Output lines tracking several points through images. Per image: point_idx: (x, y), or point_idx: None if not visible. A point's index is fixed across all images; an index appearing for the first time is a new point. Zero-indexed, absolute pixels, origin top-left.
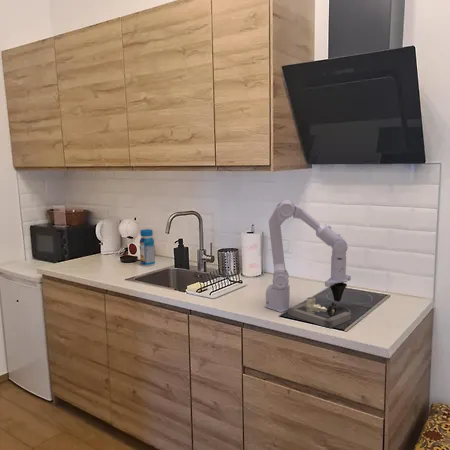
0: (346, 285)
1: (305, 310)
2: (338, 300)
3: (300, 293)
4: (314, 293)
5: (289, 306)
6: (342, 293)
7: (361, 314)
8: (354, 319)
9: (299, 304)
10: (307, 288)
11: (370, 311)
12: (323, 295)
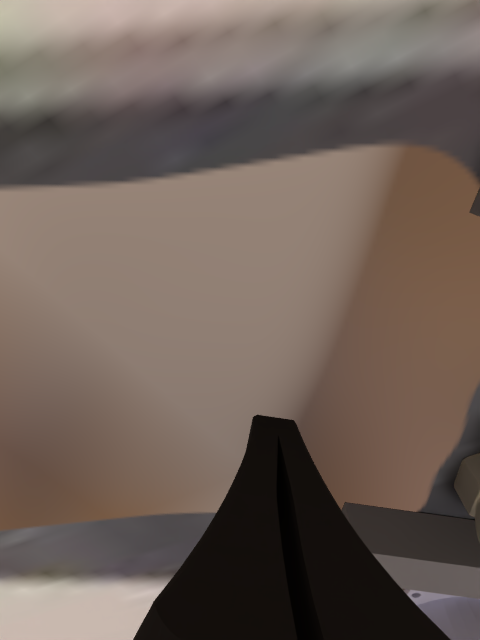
0: (178, 630)
1: (445, 523)
2: (298, 432)
3: (119, 628)
4: (51, 589)
5: (420, 602)
6: (240, 486)
7: (238, 105)
8: (472, 91)
9: (462, 595)
10: (10, 632)
11: (52, 57)
12: (36, 548)
